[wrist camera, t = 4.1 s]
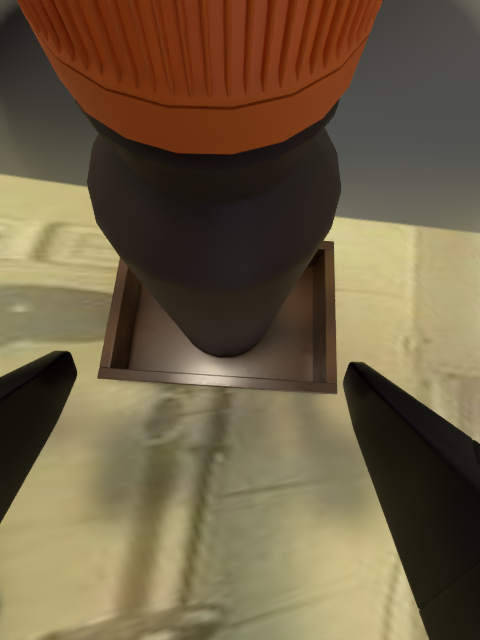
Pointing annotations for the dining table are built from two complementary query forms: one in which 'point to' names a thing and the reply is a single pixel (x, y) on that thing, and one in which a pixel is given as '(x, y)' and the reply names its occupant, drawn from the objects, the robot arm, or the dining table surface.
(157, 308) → the tray
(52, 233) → the dining table surface
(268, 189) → the vinegar
